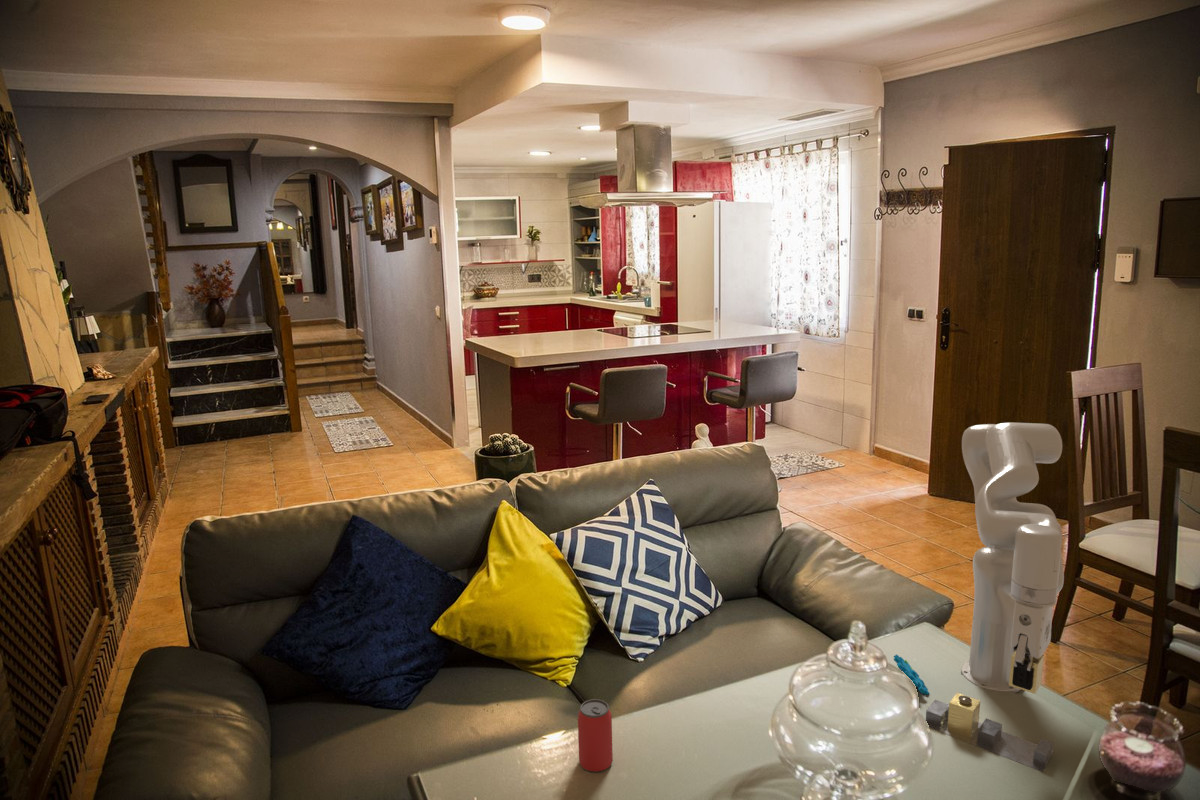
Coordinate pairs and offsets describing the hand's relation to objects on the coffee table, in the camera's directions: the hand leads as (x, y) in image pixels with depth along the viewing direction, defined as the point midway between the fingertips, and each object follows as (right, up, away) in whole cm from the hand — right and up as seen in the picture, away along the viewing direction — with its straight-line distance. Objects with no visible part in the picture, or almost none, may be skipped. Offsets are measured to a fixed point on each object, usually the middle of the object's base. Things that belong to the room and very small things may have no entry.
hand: (1025, 680), depth 148 cm
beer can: (-82, -18, +4) cm, 84 cm away
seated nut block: (-7, -13, +10) cm, 18 cm away
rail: (-4, -15, +7) cm, 17 cm away
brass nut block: (0, -1, 0) cm, 1 cm away
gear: (-12, -11, +26) cm, 31 cm away
